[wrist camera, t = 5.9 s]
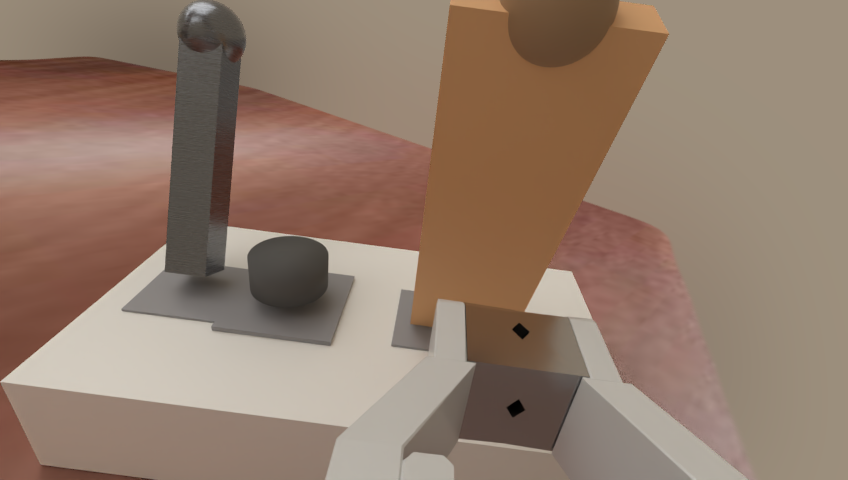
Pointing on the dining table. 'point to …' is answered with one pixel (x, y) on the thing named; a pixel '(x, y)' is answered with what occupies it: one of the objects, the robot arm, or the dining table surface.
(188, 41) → the toggle lever
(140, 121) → the dining table surface
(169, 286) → the console
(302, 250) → the push button
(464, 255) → the paddle lever
